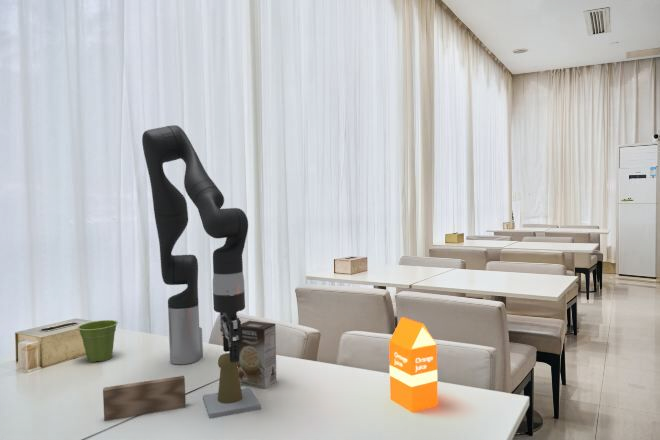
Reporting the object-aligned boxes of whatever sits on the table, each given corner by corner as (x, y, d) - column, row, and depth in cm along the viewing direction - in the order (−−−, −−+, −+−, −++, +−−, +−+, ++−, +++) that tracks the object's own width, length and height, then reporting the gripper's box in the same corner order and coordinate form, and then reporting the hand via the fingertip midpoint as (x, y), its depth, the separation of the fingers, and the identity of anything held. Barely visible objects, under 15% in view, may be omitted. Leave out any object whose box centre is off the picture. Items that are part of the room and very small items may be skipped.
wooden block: (185, 403, 120) (184, 375, 120) (185, 406, 118) (184, 378, 118) (104, 417, 114) (103, 387, 114) (104, 420, 112) (102, 390, 112)
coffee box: (236, 384, 132) (234, 325, 132) (250, 376, 138) (248, 320, 138) (265, 389, 128) (263, 328, 128) (278, 380, 134) (276, 322, 134)
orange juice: (411, 412, 112) (410, 326, 111) (389, 399, 120) (387, 318, 119) (438, 405, 115) (437, 321, 115) (415, 392, 123) (413, 314, 122)
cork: (246, 394, 123) (244, 351, 122) (236, 404, 117) (235, 358, 116) (223, 393, 124) (222, 350, 123) (213, 402, 118) (211, 357, 118)
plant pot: (93, 353, 164) (92, 319, 164) (126, 353, 163) (125, 320, 162) (70, 364, 153) (68, 329, 152) (105, 365, 151) (104, 329, 151)
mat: (202, 399, 123) (202, 395, 123) (250, 391, 127) (250, 387, 127) (209, 418, 112) (209, 414, 112) (260, 408, 116) (260, 404, 116)
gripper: (208, 287, 124) (211, 350, 125) (218, 297, 111) (220, 368, 111) (238, 284, 127) (240, 346, 127) (250, 294, 113) (253, 363, 114)
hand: (231, 356), depth 119 cm, fingers open, 8 cm apart
